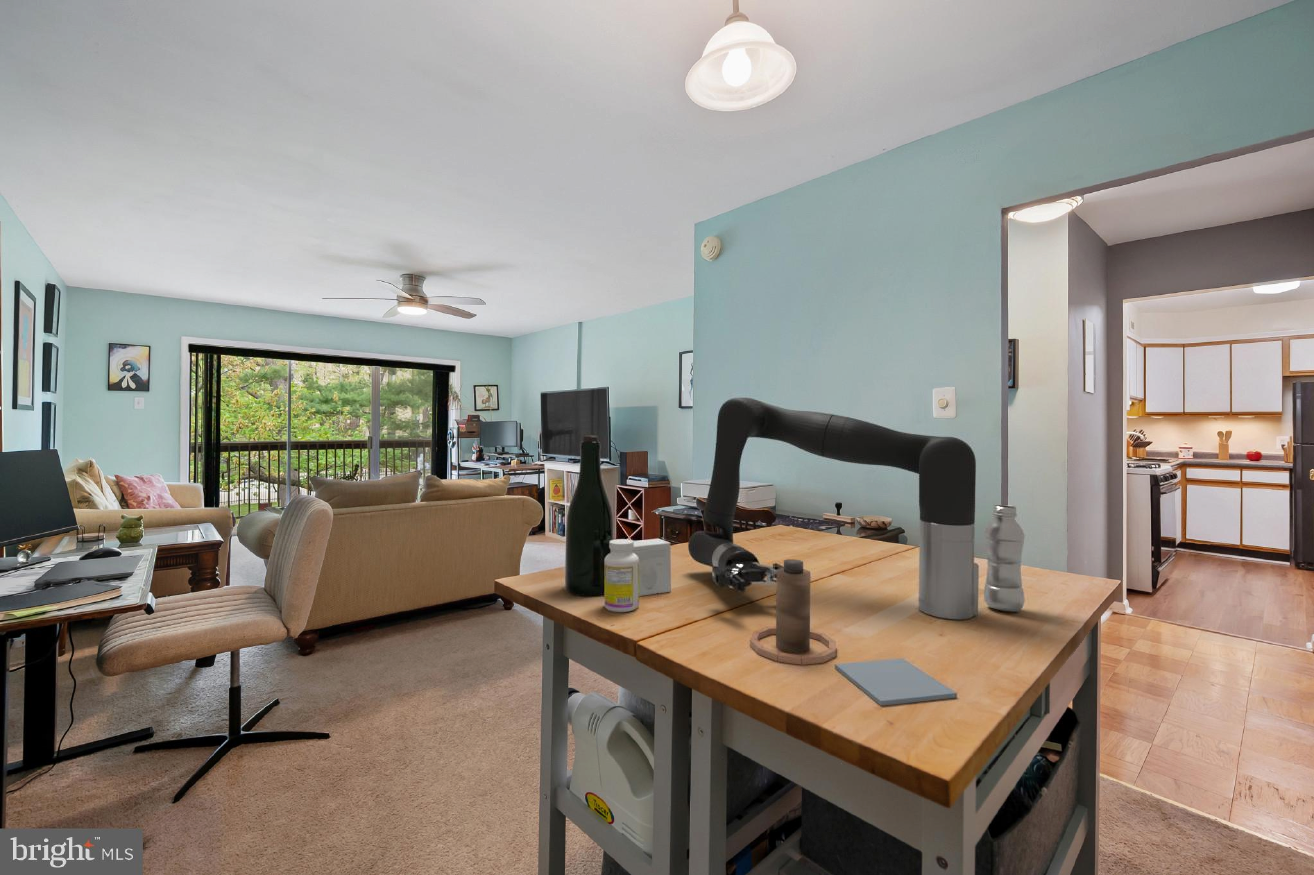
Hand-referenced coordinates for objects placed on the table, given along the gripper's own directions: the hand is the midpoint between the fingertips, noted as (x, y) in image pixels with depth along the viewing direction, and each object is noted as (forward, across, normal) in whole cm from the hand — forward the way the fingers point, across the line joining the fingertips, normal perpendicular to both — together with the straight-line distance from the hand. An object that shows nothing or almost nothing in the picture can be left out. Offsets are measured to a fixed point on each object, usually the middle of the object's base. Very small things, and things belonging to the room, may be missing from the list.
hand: (765, 585), depth 98 cm
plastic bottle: (+2, +48, +7) cm, 49 cm away
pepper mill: (+11, 0, +7) cm, 13 cm away
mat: (+25, +8, +7) cm, 27 cm away
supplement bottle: (-13, -24, +7) cm, 28 cm away
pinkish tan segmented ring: (+11, 0, +7) cm, 13 cm away
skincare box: (-23, -18, +7) cm, 30 cm away
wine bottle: (-26, -29, +7) cm, 40 cm away
